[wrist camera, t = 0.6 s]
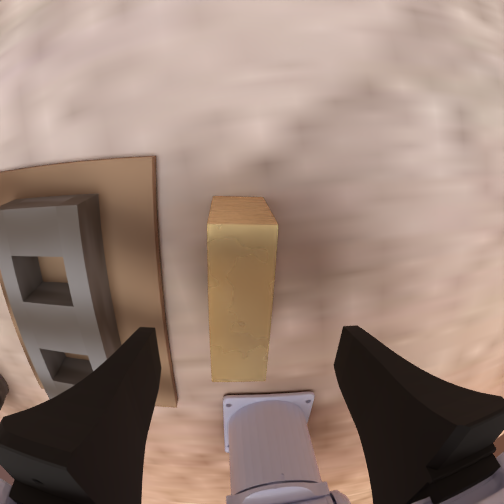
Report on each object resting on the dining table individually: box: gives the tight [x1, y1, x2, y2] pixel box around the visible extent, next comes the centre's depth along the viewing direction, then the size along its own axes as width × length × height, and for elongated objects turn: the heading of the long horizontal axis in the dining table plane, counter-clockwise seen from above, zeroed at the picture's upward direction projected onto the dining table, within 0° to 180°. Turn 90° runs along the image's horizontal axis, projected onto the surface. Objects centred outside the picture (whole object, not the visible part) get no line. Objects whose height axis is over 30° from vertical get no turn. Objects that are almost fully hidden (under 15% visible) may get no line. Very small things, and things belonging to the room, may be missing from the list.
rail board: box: [0, 156, 178, 407], centre depth 18 cm, size 20×14×4 cm
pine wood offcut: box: [207, 196, 278, 382], centre depth 17 cm, size 9×3×6 cm, turn 178°
